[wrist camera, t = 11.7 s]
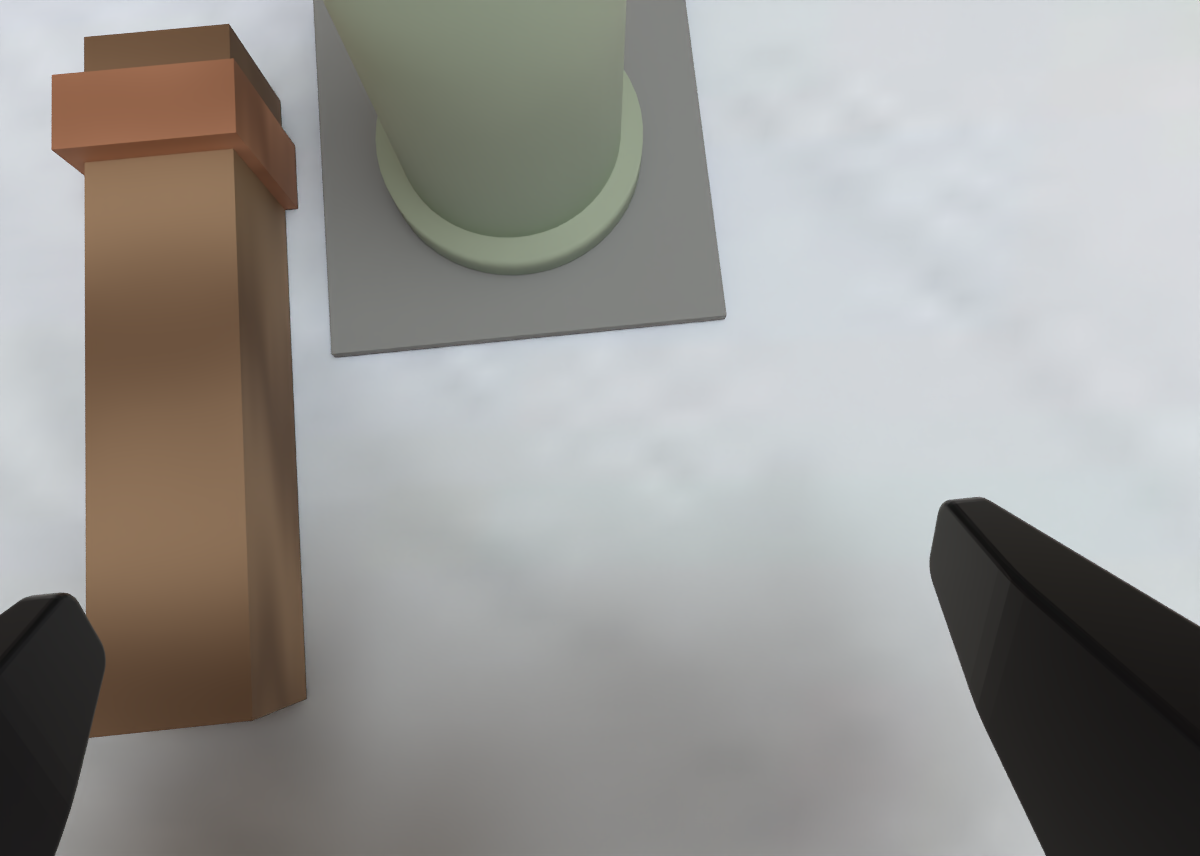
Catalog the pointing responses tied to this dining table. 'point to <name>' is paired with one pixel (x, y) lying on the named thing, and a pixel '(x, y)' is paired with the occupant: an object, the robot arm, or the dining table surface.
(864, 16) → the dining table surface
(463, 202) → the sage green knob
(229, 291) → the post
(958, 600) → the robot arm
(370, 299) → the slate pad
